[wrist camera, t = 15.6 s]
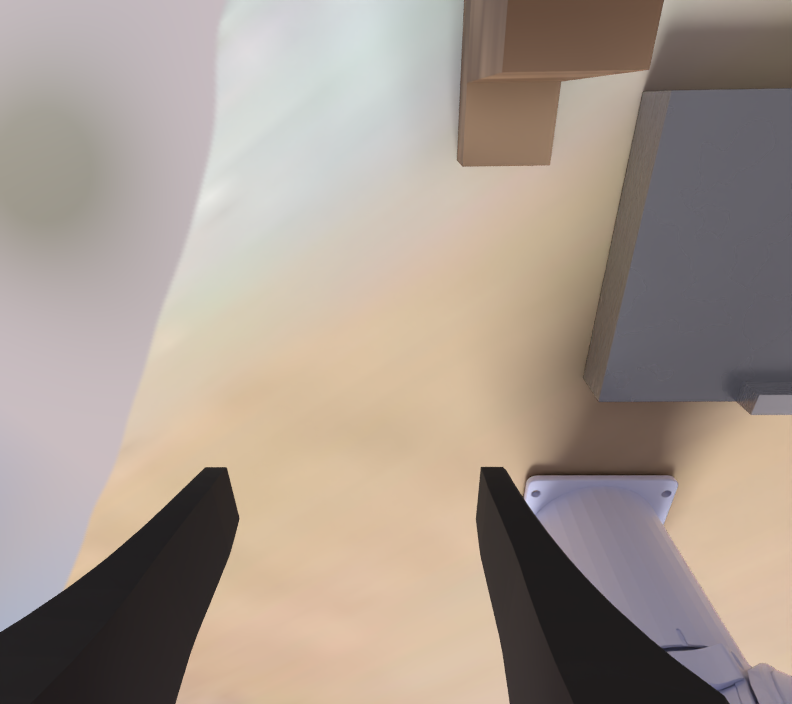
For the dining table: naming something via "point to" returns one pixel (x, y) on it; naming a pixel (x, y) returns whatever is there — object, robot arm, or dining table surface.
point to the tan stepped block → (539, 68)
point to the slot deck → (701, 256)
